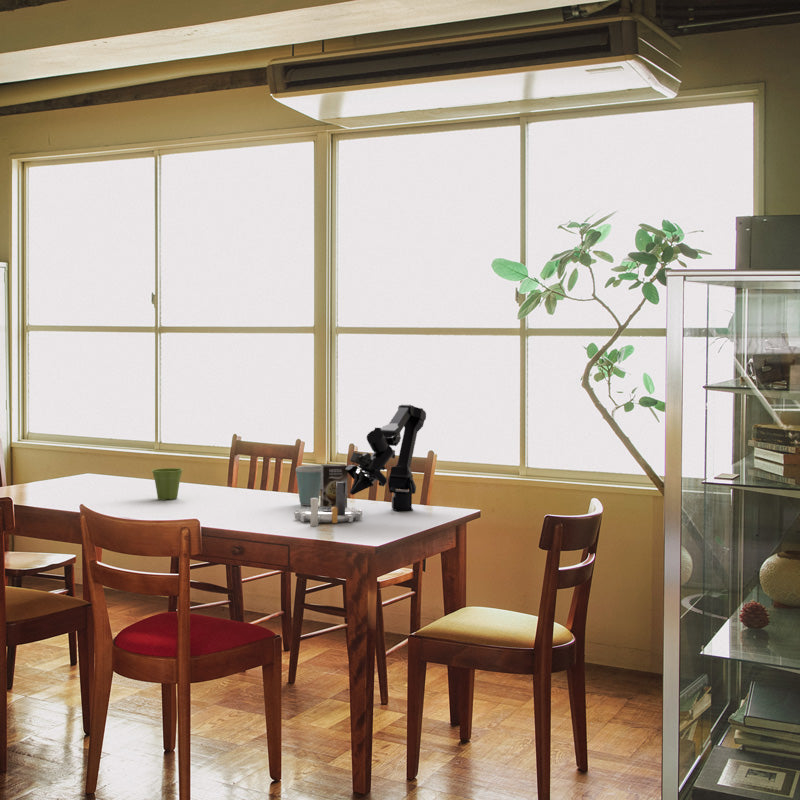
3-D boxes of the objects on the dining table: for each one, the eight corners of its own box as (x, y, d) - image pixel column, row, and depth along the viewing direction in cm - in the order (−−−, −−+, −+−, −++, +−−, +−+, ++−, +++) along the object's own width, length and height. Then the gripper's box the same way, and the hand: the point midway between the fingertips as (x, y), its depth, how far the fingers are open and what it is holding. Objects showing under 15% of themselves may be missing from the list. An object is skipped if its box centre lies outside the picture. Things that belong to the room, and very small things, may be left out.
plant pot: (187, 496, 380) (187, 468, 379) (177, 501, 368) (177, 471, 368) (157, 496, 381) (157, 467, 381) (147, 500, 369) (146, 471, 369)
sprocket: (354, 510, 347) (354, 474, 347) (369, 521, 325) (369, 483, 324) (289, 512, 342) (290, 475, 341) (300, 524, 319) (300, 485, 318)
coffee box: (322, 510, 349) (323, 466, 348) (319, 508, 355) (320, 464, 355) (347, 510, 351) (348, 465, 351) (344, 507, 358) (344, 463, 357)
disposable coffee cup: (289, 505, 360) (289, 465, 359) (305, 501, 370) (305, 462, 369) (313, 508, 355) (313, 467, 354) (329, 504, 365) (329, 464, 364)
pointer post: (317, 524, 321) (317, 497, 321) (318, 526, 319) (318, 498, 318) (310, 525, 321) (310, 498, 320) (311, 526, 318) (311, 499, 318)
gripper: (350, 441, 338) (322, 475, 333) (379, 446, 323) (351, 481, 317) (368, 462, 343) (342, 496, 337) (399, 468, 328) (371, 503, 322)
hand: (351, 493), depth 328 cm, fingers closed
